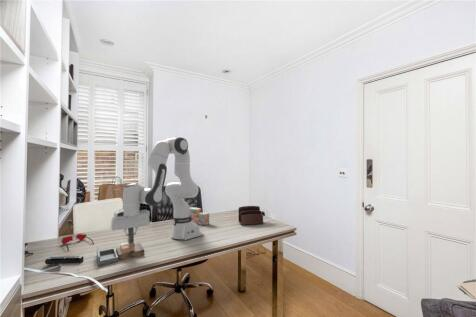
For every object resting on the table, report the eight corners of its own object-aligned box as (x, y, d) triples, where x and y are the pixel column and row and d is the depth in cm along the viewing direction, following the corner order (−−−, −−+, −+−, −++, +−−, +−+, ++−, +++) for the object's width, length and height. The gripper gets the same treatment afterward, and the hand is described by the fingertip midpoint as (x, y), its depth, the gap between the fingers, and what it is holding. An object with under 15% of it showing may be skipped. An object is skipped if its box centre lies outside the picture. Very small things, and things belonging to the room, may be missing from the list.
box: (114, 252, 132) (114, 243, 132) (118, 261, 120) (118, 252, 120) (96, 255, 127) (96, 247, 127) (98, 266, 115) (98, 256, 115)
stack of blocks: (209, 223, 193) (209, 209, 193) (204, 225, 188) (204, 210, 188) (191, 220, 205) (191, 206, 205) (186, 221, 199) (186, 207, 199)
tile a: (127, 246, 134) (127, 241, 134) (128, 248, 130) (128, 244, 131) (120, 247, 131) (120, 243, 132) (121, 249, 128) (121, 245, 128)
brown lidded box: (238, 222, 199) (238, 206, 199) (259, 220, 204) (259, 205, 204) (240, 225, 190) (241, 208, 190) (263, 223, 194) (263, 207, 194)
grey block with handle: (131, 242, 137) (131, 224, 137) (135, 250, 125) (135, 230, 125) (126, 243, 135) (126, 225, 135) (130, 251, 124) (130, 231, 124)
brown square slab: (139, 248, 139) (139, 243, 139) (144, 254, 129) (144, 249, 129) (116, 252, 131) (116, 247, 131) (118, 260, 121) (118, 254, 121)
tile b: (129, 249, 129) (129, 245, 129) (130, 251, 126) (130, 247, 126) (121, 251, 127) (121, 246, 127) (122, 253, 123) (122, 248, 123)
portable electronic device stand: (44, 264, 117) (44, 258, 117) (48, 262, 119) (48, 256, 119) (80, 263, 118) (81, 257, 118) (83, 261, 121) (83, 255, 121)
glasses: (85, 239, 155) (85, 232, 155) (94, 245, 144) (94, 237, 144) (60, 245, 144) (60, 237, 144) (67, 251, 134) (67, 243, 134)
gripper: (148, 208, 139) (148, 230, 139) (110, 212, 127) (110, 237, 127) (151, 210, 134) (150, 233, 133) (111, 214, 122) (111, 240, 122)
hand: (130, 235), depth 130 cm, fingers closed on grey block with handle, 3 cm apart
